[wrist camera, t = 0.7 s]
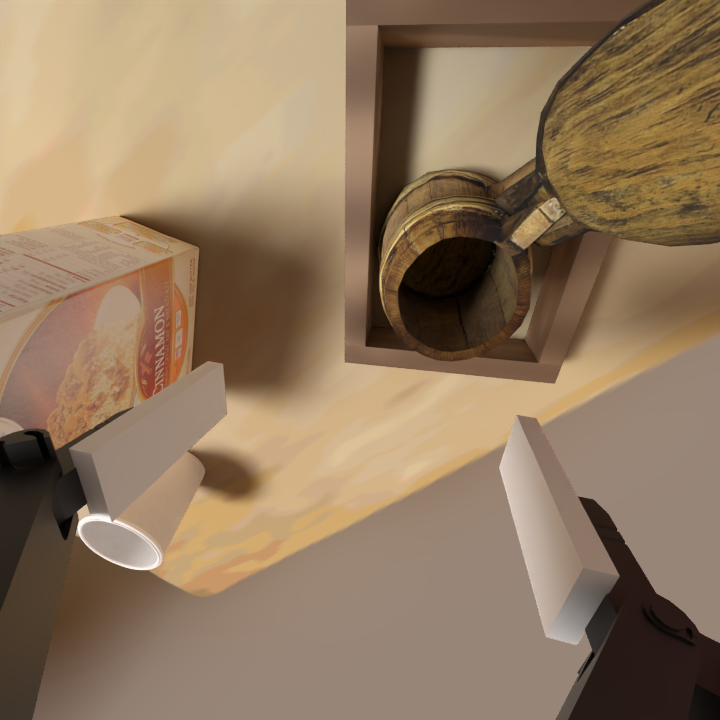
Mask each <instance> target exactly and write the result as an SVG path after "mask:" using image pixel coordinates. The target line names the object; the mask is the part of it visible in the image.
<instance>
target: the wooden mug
mask: <svg viewBox="0 0 720 720" xmlns="http://www.w3.org/2000/svg"><path fill="white" fill-rule="evenodd" d="M589 231H594V232H601V233H605V234H608V235H611V236H614V237H617V238H620V239H625V240H631V241H637V242H644V243H651V244H658V245H664V246H686V245H703V244H713V243H718V242H720V0H647V1H646V2H645V3H643V4H642V5H640V6H639V7H637V8H636V9H635V10H633V11H632V12H630V13H629V14H628V15H626V16H625V17H623V18H622V19H621V20H620V21H619V22H618V23H617V24H616V25H615V26H614V27H613V28H612V29H611V30H610V31H609V32H608V33H607V34H606V35H605V36H603V37H602V38H601V39H600V40H599V41H598V42H597V43H596V44H595V45H594V46H593V47H592V48H591V49H590V50H589V51H588V52H587V53H586V54H585V55H584V56H583V57H582V58H581V59H580V60H579V61H578V62H577V63H576V64H575V65H574V66H573V67H572V68H571V69H570V70H569V71H568V72H567V73H566V74H565V75H564V76H563V77H562V78H561V79H560V80H559V81H558V82H557V84H556V86H555V88H554V90H553V92H552V94H551V95H550V97H549V99H548V101H547V103H546V105H545V107H544V108H543V110H542V112H541V116H540V122H539V128H538V134H537V142H536V157H535V158H534V159H532V160H531V161H529V162H528V163H526V164H525V165H524V166H522V167H521V168H519V169H518V170H517V171H515V172H514V173H512V174H511V175H510V176H508V177H507V178H505V179H504V180H503V181H501V182H500V183H498V184H496V183H495V182H494V181H492V180H490V179H489V178H487V177H486V176H482V175H479V174H476V173H473V172H469V171H458V170H442V171H434V172H428V173H426V174H425V175H423V176H421V177H420V178H418V179H417V180H415V181H413V182H412V183H410V184H409V185H407V186H405V187H404V188H403V189H402V191H401V192H400V194H399V195H398V197H397V198H396V200H395V201H394V203H393V205H392V207H391V208H390V210H389V212H388V214H387V216H386V219H385V222H384V225H383V228H382V231H381V234H380V237H379V241H378V244H377V252H378V260H379V266H380V273H379V291H380V295H381V300H382V306H383V309H384V311H385V313H386V315H387V317H388V320H389V322H390V324H391V326H392V327H393V329H394V331H395V333H396V336H397V337H398V338H399V339H401V340H402V341H403V342H404V343H405V344H406V345H407V346H409V347H410V348H412V349H413V350H415V351H416V352H418V353H419V354H421V355H423V356H426V357H429V358H432V359H434V360H439V361H449V362H452V361H459V360H467V359H471V358H474V357H478V356H481V355H484V354H486V353H488V352H489V351H491V350H493V349H494V348H496V347H498V346H499V345H500V344H501V343H503V342H504V341H505V340H507V339H508V338H509V337H510V336H511V335H512V334H513V333H514V332H515V331H516V330H517V329H518V328H519V327H520V326H521V324H522V322H523V320H524V318H525V316H526V314H527V312H528V310H529V308H530V297H531V289H532V274H533V258H532V250H531V244H532V243H535V244H536V245H538V246H540V247H542V248H543V247H548V246H553V245H556V244H558V243H561V242H564V241H566V240H569V239H571V238H574V237H576V236H579V235H582V234H584V233H587V232H589Z"/></svg>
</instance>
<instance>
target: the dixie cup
mask: <svg viewBox="0 0 720 720" xmlns="http://www.w3.org/2000/svg"><path fill="white" fill-rule="evenodd" d="M204 475H205V468H204V466H203V464H202V463H201V461H200V460H199V459H198V458H197V457H195V456H194V455H192V454H191V453H189V452H186V453H185V454H184V455H183V456H182V457H181V458H180V459H179V460H178V461H177V462H175V463H174V464H173V465H172V466H171V467H170V468H169V469H168V470H167V471H166V472H165V473H164V474H163V475H162V476H161V477H160V478H159V479H157V480H156V481H155V482H154V483H153V484H152V485H151V486H150V487H149V488H148V489H147V490H146V491H145V492H144V493H143V494H142V495H141V496H139V497H138V498H137V499H136V500H135V501H134V502H133V503H132V504H131V505H130V506H129V507H128V508H127V509H126V510H125V511H124V512H123V513H121V514H120V515H119V516H118V517H117V518H116V519H115V520H114V521H113V522H112V523H111V522H107V521H103V520H100V519H96V518H92V517H91V515H90V516H87V517H85V518H83V519H82V520H81V521H80V523H79V525H78V532H79V535H80V537H81V539H82V540H83V541H84V543H85V544H86V545H87V546H88V547H89V548H90V549H91V550H93V551H94V552H95V553H97V554H98V555H100V556H101V557H103V558H105V559H106V560H108V561H111V562H113V563H115V564H118V565H120V566H123V567H126V568H131V569H137V570H149V569H153V568H156V567H158V566H159V565H160V564H161V563H162V562H163V559H164V553H165V551H166V549H167V547H168V545H169V543H170V541H171V539H172V537H173V535H174V534H175V532H176V530H177V528H178V526H179V524H180V522H181V520H182V518H183V516H184V514H185V512H186V510H187V508H188V506H189V504H190V503H191V501H192V499H193V497H194V495H195V493H196V491H197V489H198V487H199V485H200V483H201V481H202V479H203V477H204Z"/></svg>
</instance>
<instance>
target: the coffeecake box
mask: <svg viewBox="0 0 720 720" xmlns="http://www.w3.org/2000/svg"><path fill="white" fill-rule="evenodd" d="M198 261H199V247H197V246H194V245H192V244H189V243H187V242H184V241H181V240H179V239H176V238H173V237H169V236H167V235H164V234H162V233H160V232H157V231H155V230H152V229H150V228H147V227H145V226H143V225H140V224H138V223H135V222H133V221H130V220H128V219H125V218H122V217H120V216H113V217H106V218H100V219H94V220H88V221H82V222H76V223H70V224H64V225H58V226H52V227H47V228H41V229H35V230H29V231H23V232H17V233H11V234H5V235H0V438H1V437H2V436H5V435H8V434H10V433H13V432H16V431H21V430H25V429H35V428H38V429H45V430H47V431H48V432H49V433H50V436H51V439H52V442H53V445H54V448H55V450H57V449H59V448H60V447H62V446H64V445H65V444H67V443H69V442H70V441H72V440H73V439H75V438H77V437H78V436H80V435H82V434H83V433H85V432H87V431H88V430H90V429H93V428H94V427H95V426H96V425H98V424H100V423H101V422H104V421H105V420H106V419H108V418H109V417H111V416H113V415H114V414H116V413H118V412H121V411H123V410H126V409H129V408H131V407H136V406H137V405H139V404H140V403H142V402H144V401H145V400H147V399H148V398H150V397H152V396H153V395H155V394H156V393H158V392H160V391H161V390H163V389H164V388H166V387H168V386H169V385H171V384H172V383H174V382H175V381H177V380H179V379H180V378H182V377H183V376H185V375H187V374H188V373H190V372H191V369H192V354H193V339H194V323H195V307H196V291H197V276H198Z"/></svg>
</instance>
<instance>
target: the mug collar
mask: <svg viewBox="0 0 720 720" xmlns="http://www.w3.org/2000/svg"><path fill="white" fill-rule="evenodd" d="M646 1H647V0H346V189H345V362H347V363H357V364H367V365H377V366H387V367H397V368H406V369H416V370H426V371H436V372H446V373H456V374H466V375H475V376H485V377H495V378H505V379H515V380H525V381H534V382H544V383H554V384H555V382H556V379H557V376H558V374H559V371H560V369H561V366H562V364H563V361H564V359H565V356H566V354H567V351H568V349H569V346H570V344H571V341H572V338H573V336H574V333H575V331H576V328H577V326H578V323H579V321H580V318H581V316H582V313H583V311H584V308H585V305H586V303H587V300H588V298H589V295H590V293H591V290H592V288H593V285H594V283H595V280H596V278H597V275H598V273H599V270H600V267H601V265H602V262H603V260H604V257H605V255H606V252H607V250H608V247H609V245H610V242H611V240H612V237H613V236H611V235H608V234H605V233H601V232H594V231H589V232H587V233H584V234H582V235H579V236H576V237H574V238H571V239H569V240H566V241H564V242H561V243H558V244H556V245H554V248H553V252H552V255H551V258H550V261H549V264H548V268H547V271H546V274H545V277H544V280H543V284H542V287H541V290H540V293H539V296H538V299H537V303H536V306H535V309H534V312H533V315H532V319H531V322H530V325H529V328H528V331H527V335H526V338H525V340H517V339H507V340H505V341H504V342H503V343H501V344H500V345H499V346H498V347H496V348H494V349H493V350H491V351H489V352H488V353H486V354H484V355H481V356H478V357H474V358H471V359H467V360H459V361H452V362H449V361H439V360H434V359H432V358H429V357H426V356H423V355H421V354H419V353H418V352H416V351H415V350H413V349H412V348H410V347H409V346H407V345H406V344H405V343H404V342H403V341H402V340H401V339H399V338H398V337H397V336H396V333H395V331H394V329H392V328H381V327H371V317H372V296H373V275H374V254H375V233H376V212H377V191H378V171H379V150H380V129H381V108H382V87H383V66H384V48H423V47H530V46H594V45H595V44H596V43H597V42H598V41H599V40H600V39H601V38H602V37H603V36H605V35H606V34H607V33H608V32H609V31H610V30H611V29H612V28H613V27H614V26H615V25H616V24H617V23H618V22H619V21H620V20H621V19H622V18H623V17H625V16H626V15H628V14H629V13H630V12H632V11H633V10H635V9H636V8H637V7H639V6H640V5H642V4H643V3H645V2H646Z"/></svg>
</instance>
